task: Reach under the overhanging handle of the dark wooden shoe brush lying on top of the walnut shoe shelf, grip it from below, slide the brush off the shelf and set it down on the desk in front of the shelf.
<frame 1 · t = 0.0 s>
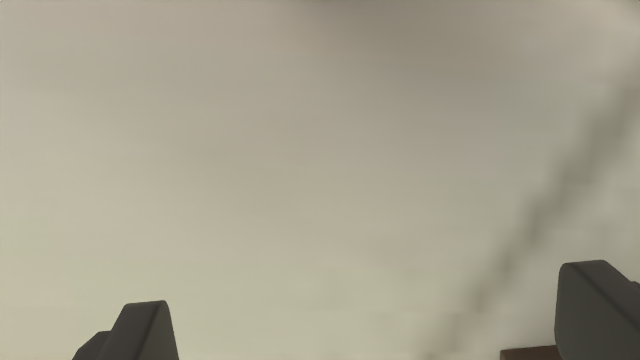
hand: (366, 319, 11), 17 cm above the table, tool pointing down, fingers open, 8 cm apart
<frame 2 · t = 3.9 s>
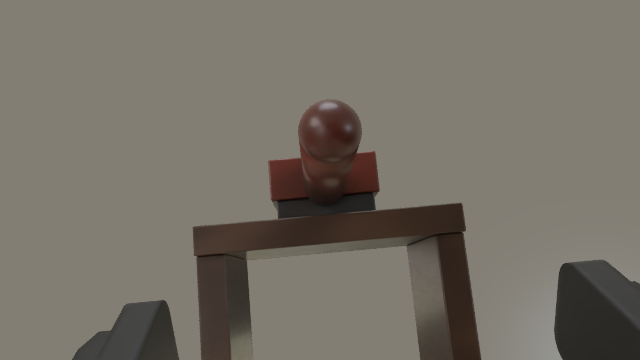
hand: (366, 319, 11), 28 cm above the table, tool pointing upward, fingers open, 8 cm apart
shoe brush: (326, 225, 33), point 32 cm above the table, touching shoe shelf
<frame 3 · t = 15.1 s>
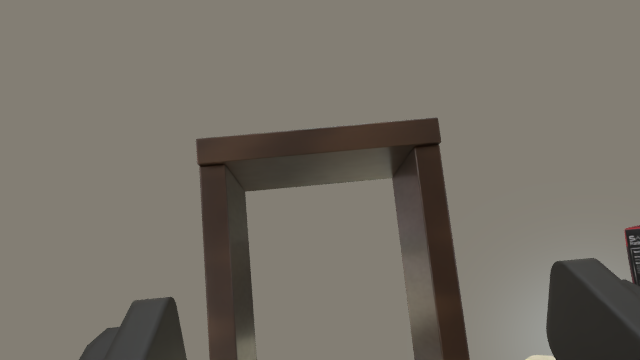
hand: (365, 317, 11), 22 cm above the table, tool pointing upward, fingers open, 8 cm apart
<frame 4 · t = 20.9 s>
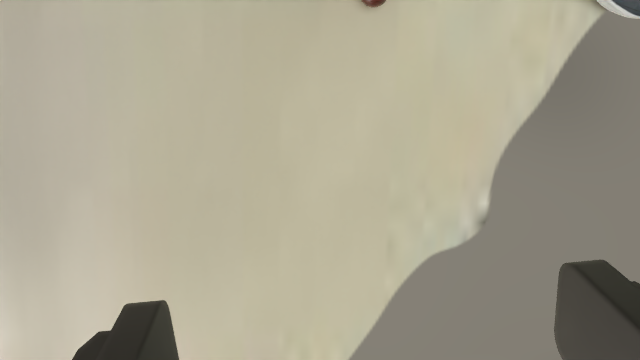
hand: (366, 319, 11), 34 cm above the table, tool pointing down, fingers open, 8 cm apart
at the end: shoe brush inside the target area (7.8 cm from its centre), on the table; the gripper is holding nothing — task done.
